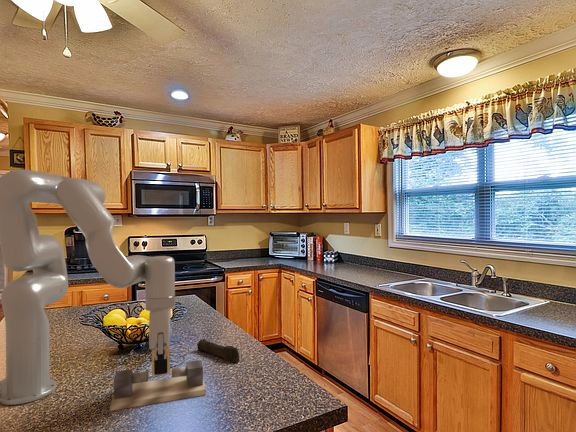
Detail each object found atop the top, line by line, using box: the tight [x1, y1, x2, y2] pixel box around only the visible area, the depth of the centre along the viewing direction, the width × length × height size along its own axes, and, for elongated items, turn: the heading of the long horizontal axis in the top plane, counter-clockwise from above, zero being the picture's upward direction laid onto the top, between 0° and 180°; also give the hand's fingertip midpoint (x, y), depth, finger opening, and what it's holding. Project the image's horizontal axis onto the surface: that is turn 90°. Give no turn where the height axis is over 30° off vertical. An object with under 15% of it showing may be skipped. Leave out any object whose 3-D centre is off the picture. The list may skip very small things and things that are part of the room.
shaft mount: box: [109, 359, 207, 412], centre depth 95 cm, size 23×10×6 cm, turn 110°
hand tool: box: [196, 338, 240, 363], centre depth 120 cm, size 19×4×5 cm, turn 51°
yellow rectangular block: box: [151, 344, 171, 378], centre depth 95 cm, size 4×4×7 cm
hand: (160, 369), depth 95 cm, fingers closed on yellow rectangular block, 4 cm apart
